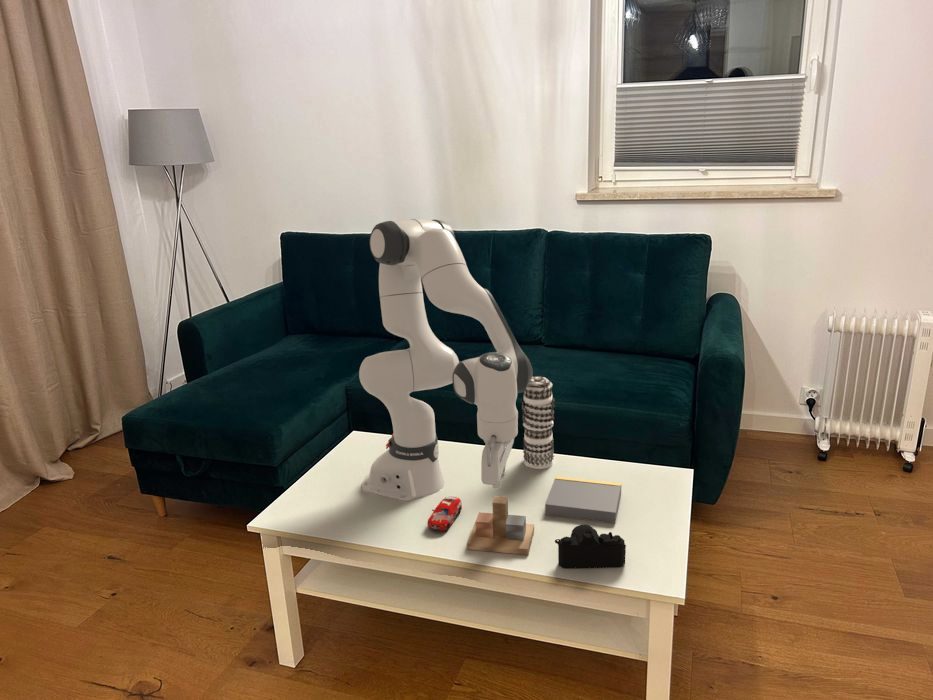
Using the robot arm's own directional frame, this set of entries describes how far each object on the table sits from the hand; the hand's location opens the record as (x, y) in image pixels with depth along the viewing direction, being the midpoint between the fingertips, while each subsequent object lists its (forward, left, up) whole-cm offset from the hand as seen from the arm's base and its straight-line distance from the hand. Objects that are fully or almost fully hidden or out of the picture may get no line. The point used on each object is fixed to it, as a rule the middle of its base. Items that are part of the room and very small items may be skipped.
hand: (499, 481), depth 162 cm
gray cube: (+4, 0, -14) cm, 14 cm away
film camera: (+21, -2, -16) cm, 26 cm away
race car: (-15, +2, -18) cm, 23 cm away
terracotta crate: (-3, 0, -14) cm, 14 cm away
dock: (+16, +21, -16) cm, 31 cm away
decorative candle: (+1, +40, -16) cm, 43 cm away
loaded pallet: (0, 0, -16) cm, 16 cm away
